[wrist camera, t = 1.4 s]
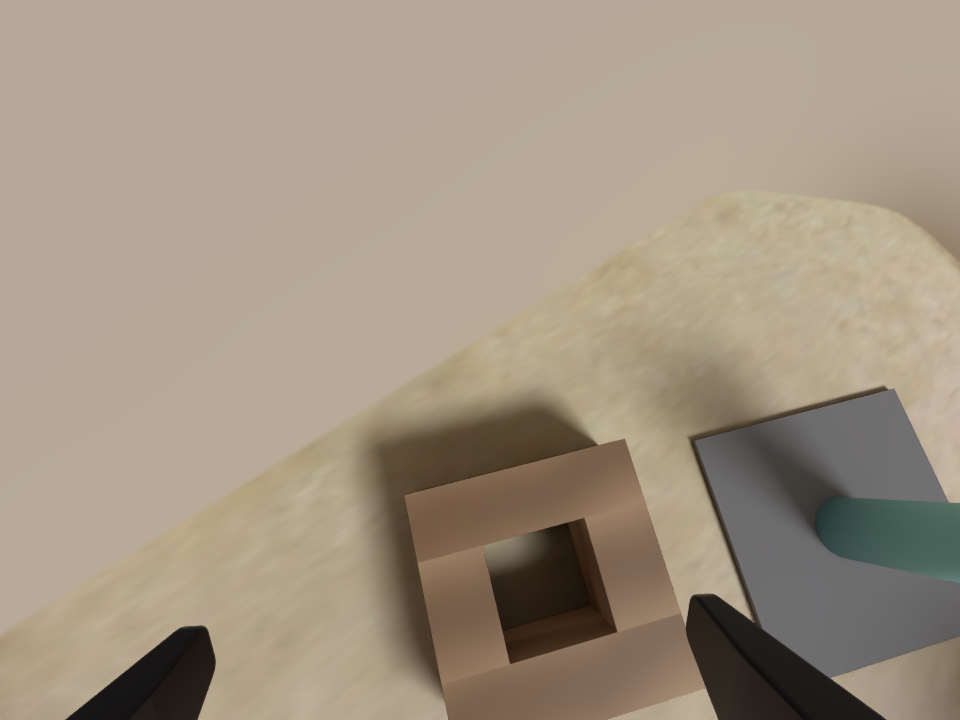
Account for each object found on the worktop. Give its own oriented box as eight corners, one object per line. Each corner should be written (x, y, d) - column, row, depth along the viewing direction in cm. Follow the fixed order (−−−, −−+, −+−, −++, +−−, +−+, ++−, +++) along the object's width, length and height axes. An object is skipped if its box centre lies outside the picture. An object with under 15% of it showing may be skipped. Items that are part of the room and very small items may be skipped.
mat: (998, 619, 22) (1005, 621, 22) (781, 689, 21) (785, 692, 21) (889, 389, 25) (894, 388, 25) (692, 440, 24) (694, 440, 24)
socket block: (661, 650, 22) (705, 688, 18) (458, 712, 21) (458, 766, 17) (598, 445, 24) (624, 438, 20) (413, 492, 23) (404, 495, 19)
